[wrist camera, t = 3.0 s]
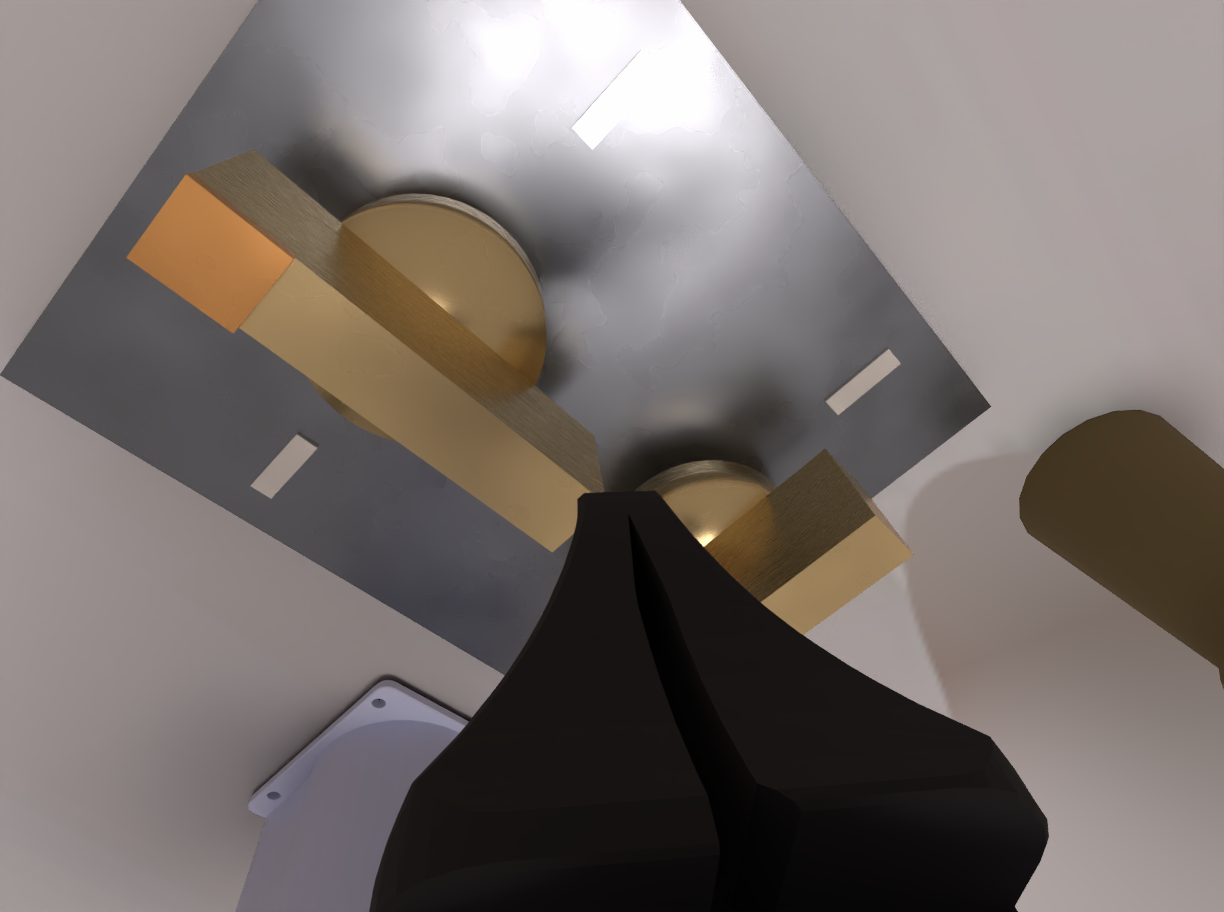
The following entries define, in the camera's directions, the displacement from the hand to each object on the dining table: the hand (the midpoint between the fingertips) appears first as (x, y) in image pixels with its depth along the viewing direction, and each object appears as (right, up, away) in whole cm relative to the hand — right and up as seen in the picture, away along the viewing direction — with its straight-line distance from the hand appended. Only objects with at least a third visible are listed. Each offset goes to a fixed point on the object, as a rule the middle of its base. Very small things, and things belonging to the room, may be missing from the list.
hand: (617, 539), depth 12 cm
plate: (-2, +4, +10) cm, 11 cm away
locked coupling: (+3, -1, +11) cm, 11 cm away
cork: (+18, +1, +14) cm, 23 cm away
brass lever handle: (-5, +5, +6) cm, 9 cm away
